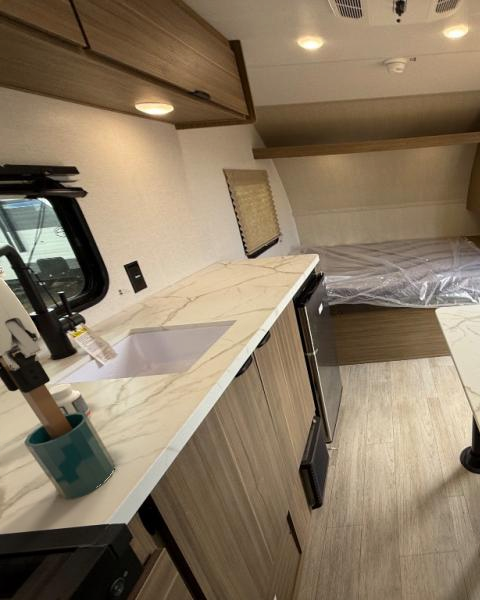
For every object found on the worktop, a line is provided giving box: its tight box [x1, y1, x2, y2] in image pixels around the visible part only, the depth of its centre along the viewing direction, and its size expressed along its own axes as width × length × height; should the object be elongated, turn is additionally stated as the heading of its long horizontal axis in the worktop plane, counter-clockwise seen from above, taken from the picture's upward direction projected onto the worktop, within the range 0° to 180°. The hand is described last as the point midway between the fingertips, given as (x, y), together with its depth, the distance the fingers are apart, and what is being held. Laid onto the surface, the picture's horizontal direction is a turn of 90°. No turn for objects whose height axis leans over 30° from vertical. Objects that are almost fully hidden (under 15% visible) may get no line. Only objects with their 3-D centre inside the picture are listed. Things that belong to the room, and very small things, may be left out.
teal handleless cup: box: [24, 412, 116, 500], centre depth 55 cm, size 7×7×12 cm
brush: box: [0, 351, 74, 441], centre depth 51 cm, size 4×4×22 cm
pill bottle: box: [48, 382, 92, 419], centre depth 71 cm, size 5×5×9 cm
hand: (30, 385), depth 49 cm, fingers closed on brush, 2 cm apart
